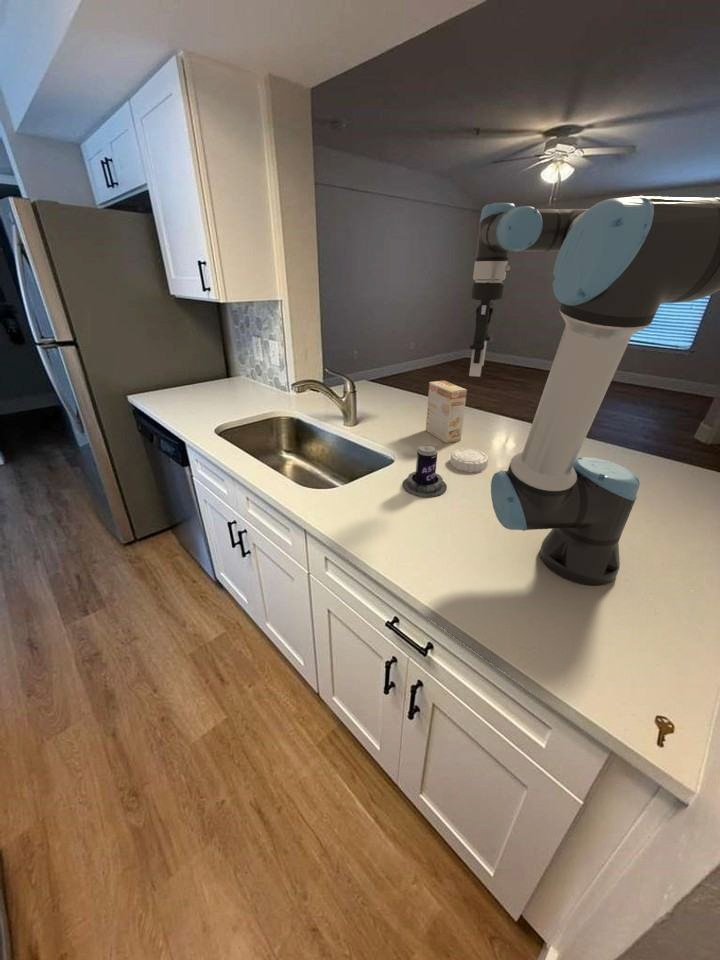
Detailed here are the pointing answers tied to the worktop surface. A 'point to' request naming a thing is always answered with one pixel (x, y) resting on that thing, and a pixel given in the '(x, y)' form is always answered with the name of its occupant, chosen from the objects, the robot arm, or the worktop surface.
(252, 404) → the worktop surface
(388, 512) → the worktop surface
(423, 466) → the beverage can
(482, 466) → the mooncake
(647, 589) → the worktop surface
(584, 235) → the robot arm
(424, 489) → the ring collar
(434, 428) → the coffeecake box
